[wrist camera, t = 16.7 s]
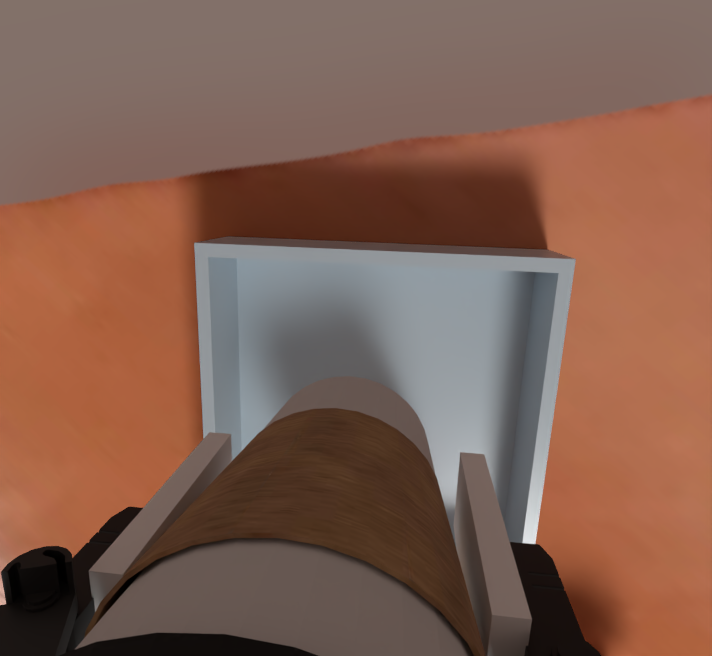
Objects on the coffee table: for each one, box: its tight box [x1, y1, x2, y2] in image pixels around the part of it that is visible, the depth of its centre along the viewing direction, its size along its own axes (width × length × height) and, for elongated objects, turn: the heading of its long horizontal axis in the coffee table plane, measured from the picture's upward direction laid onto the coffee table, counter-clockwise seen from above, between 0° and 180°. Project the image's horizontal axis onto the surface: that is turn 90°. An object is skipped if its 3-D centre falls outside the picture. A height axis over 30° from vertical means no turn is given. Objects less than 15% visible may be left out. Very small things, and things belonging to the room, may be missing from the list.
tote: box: [194, 236, 576, 550], centre depth 34 cm, size 22×24×6 cm
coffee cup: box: [59, 376, 485, 656], centre depth 11 cm, size 8×8×15 cm
